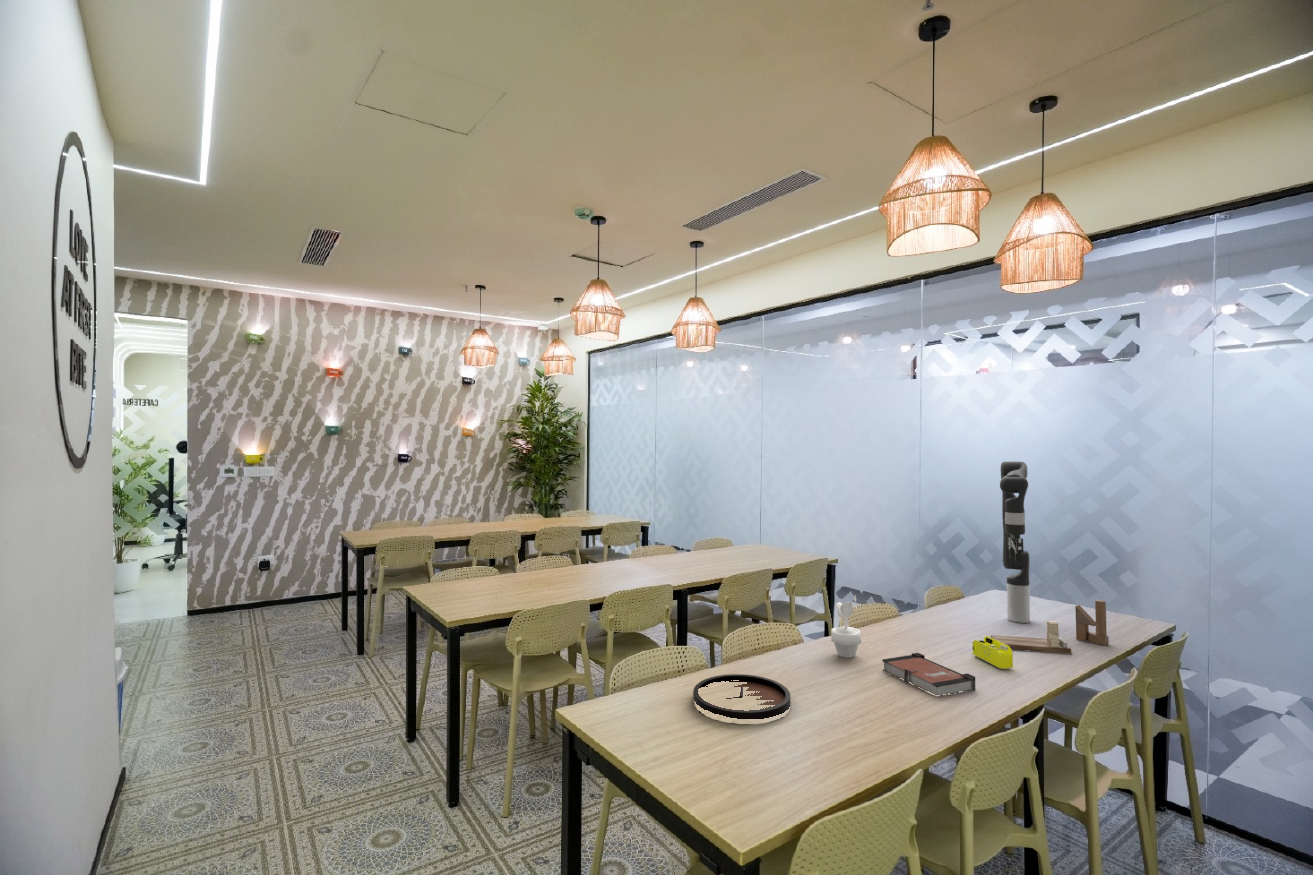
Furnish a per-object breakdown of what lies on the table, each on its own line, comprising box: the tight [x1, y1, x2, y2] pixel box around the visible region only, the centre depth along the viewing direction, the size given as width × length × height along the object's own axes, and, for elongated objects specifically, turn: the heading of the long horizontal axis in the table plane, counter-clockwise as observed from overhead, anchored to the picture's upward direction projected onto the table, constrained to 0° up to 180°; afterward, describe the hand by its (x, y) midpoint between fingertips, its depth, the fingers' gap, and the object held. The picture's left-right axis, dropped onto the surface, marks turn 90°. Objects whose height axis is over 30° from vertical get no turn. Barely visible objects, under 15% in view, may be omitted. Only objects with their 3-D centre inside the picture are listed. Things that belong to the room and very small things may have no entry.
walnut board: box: [990, 634, 1072, 655], centre depth 251 cm, size 12×26×4 cm, turn 74°
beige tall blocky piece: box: [1046, 620, 1060, 647], centre depth 247 cm, size 7×3×9 cm, turn 165°
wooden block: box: [1074, 599, 1110, 646], centre depth 256 cm, size 4×11×18 cm, turn 33°
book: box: [881, 652, 976, 697], centre depth 216 cm, size 26×18×5 cm
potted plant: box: [830, 593, 862, 659], centre depth 243 cm, size 13×12×25 cm
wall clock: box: [692, 673, 792, 719], centre depth 198 cm, size 31×4×31 cm
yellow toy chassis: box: [972, 635, 1014, 670], centre depth 233 cm, size 16×6×8 cm, turn 7°
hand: (1015, 560), depth 264 cm, fingers open, 8 cm apart
